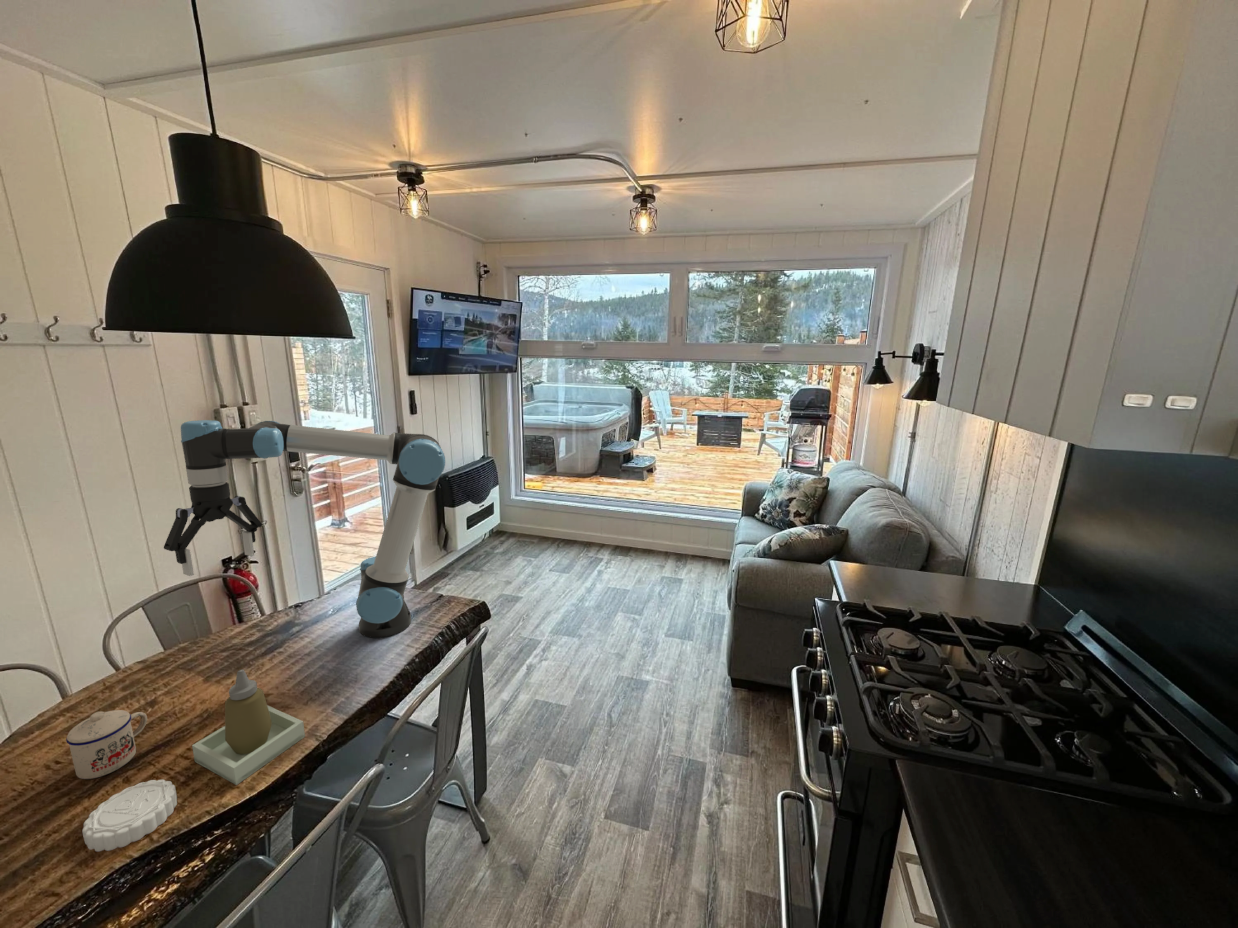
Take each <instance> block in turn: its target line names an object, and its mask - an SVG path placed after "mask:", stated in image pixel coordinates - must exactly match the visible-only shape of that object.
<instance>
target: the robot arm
mask: <svg viewBox="0 0 1238 928" xmlns="http://www.w3.org/2000/svg"><path fill="white" fill-rule="evenodd" d="M180 438H181V440H180V443H181V446H182V452H183V457H184V463H185V469H186V470H185V471H186V476H187V477H186V478H187V482H188V484H189V485H190V486H189V487H188V489H189V497H190V501H191V506H190V507H188V508H187V507H186V508H181V507H179V508H176V510H175V519H174V521H173V524H172V525H171V529H170V531H169V532H168V533H169V534H168V535H167V538H166V540H165V543H164V545H163V549H164V550H166V551H169V552H175V558H176V562H177V563H178V564H179V565H180V564H181V568H182V572H183V575H184V576H185V575H186V576H189V577H192V576H194V575H195V574H194V569H193V568H194V567H193V561H192V560H193V559H192V554H191V550H190V549H189V548H188V547H189V545H190V543H191V542H192V540H193V539H194V538H195V536H196V535H197V533H198V532H199V531H200V529H201V528H202V527H203V526H205V524H206V523H207V522H208V523H211V522H214V521H216V520H223V519H225V518H227V519H228V520H230V521H232V522H233V523H234V524H237V525H238V526H239V527H241V528H242V529H244V530H243V531H241V536H242V543H243V550H244V555H245V556H249V557H253V556H255V550H254V543H256V541H257V540H256V532H257V530H258V528H261V527H262V526H263V523H262V522H261V521H260V519H259V517H257V515H256V514H255V513H254V512H253V511H252V509H251V508H250V507H249V506H248V504H247V501H246V498H245V497H244V496H240V495H235V496H234V497H233V498H231V491H230V483H229V482H228V481H229V476H228V475H229V474H228V469H227V461H226V460H233V459H234V460H235V459H236V460H237V459H238V460H239V459H242V460H244V459H262V460H263V459H264V460H265V459H268V458H278V457H281V456H282V454H283V452H292V453H303V454H312V455H313V454H314V455H323V456H325V455H326V456H337V457H346V458H347V457H348V458H360V459H367V460H368V459H370V460H379V461H381V460H383V461H387V462H388V463H389V464H391V465H396V467H395V471H394V474H393V479H392V482H393V483H394V484H395V487H396V489H395V491H394V495H393V498H392V502H391V504H390V508H389V512H388V514H387V518H386V522H385V525H384V529H383V532H382V536H381V537H380V538H381V539H380V542H379V545H378V549H377V552H376V555H375V556H371V557H368V558H366V559H364V560H362V561H361V563H360V569H359V571H360V576H361V579H360V584H359V591H358V596H357V598H356V602H355V607H356V612H357V614H358V615H359V617H360V619H359V622H358V632H359V633H360V635H361V636H364V637H366V638H373V639H374V638H375V639H376V638H385V637H390V636H393V635H397V634H399V633H401V632H403V631H405V630H406V629H407V628H408V627H409V626H410V625H411V624H412V623H411V622H412V615H411V614H412V613H411V611H410V609H409V607H408V605H407V603H406V601H405V596H404V595H405V591H406V587H407V584H408V580H409V577H410V575H409V573H408V572H407V570H406V568H407V565H408V562H409V558H410V556H411V551H412V548H413V545H414V541H415V538H416V535H417V533H418V529H419V525H420V522H421V519H422V516H423V512H424V509H425V506H426V502H427V499H428V496H429V494H431V493H432V492H434V491H436V488H437V485H438V482H439V479H440V477H441V475H442V474H443V472H444V470H445V466H446V456H445V453H444V451H443V449H442V448H441V445H440V443H439V442H438V441H437V440H436V439H435V438H434V437H432V436H431V435H428V434H423V433H402V432H393V433H391V434H390V435H389V434H381V433H380V434H379V433H371V432H361V431H354V430H353V431H352V430H343V429H334V428H333V429H332V428H324V427H316V426H306V425H305V426H303V425H296V424H286V423H285V424H284V423H280V422H277V421H275V420H264V421H260V422H257V423H256V424H255V425H252V426H251V427H247V428H246V427H245V428H223V426H222V424H221V422H220V421H218V420H210V419H203V420H202V419H199V420H189V421H185V422H183V423H182V424H180ZM232 506H236V507H237V509H238V510H239V511H240V512H241V513H242V515H243V516H244V517H245V519H246V520H247V521H246V520H245V519H243V518H241V517H240V516H239V515H237V514H236V513H235V512H233V510H231V508H232ZM191 514H193V517H192V518H191V519H190V523H189V525H187V522H188V519H189V518H190V517H191ZM186 525H187V527H186ZM185 527H186V529H185ZM184 529H185V530H184Z"/></svg>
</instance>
